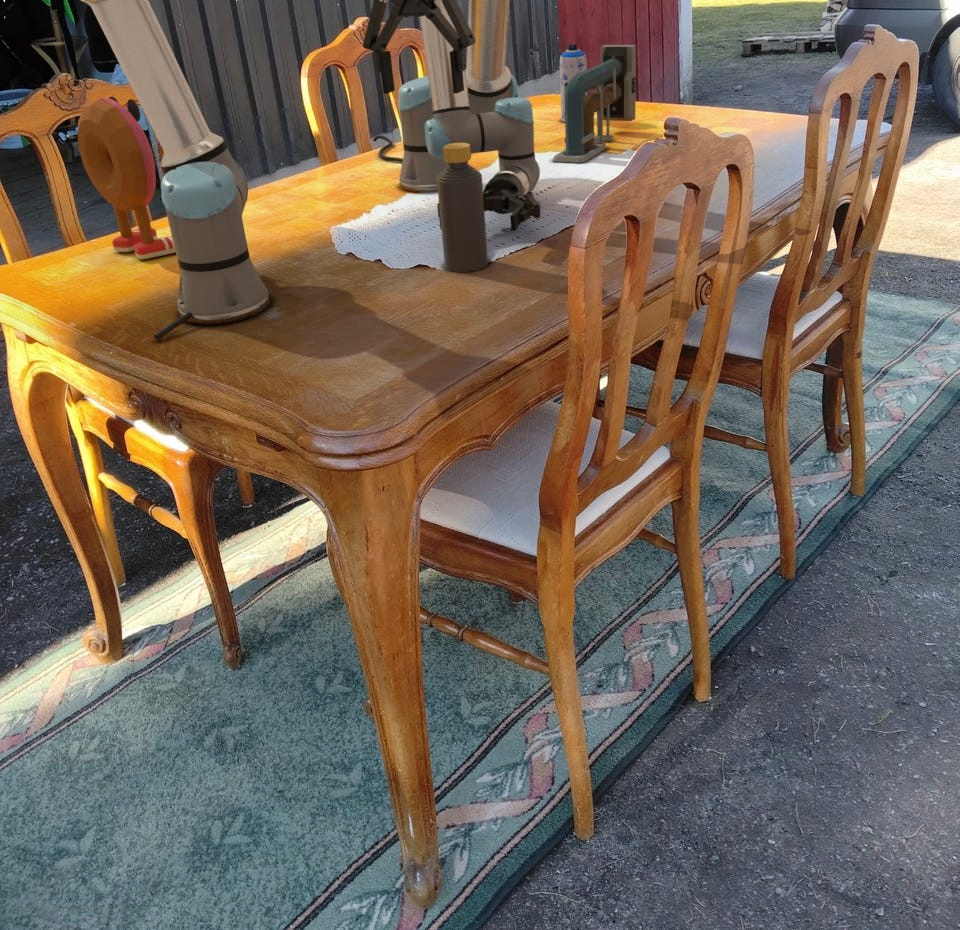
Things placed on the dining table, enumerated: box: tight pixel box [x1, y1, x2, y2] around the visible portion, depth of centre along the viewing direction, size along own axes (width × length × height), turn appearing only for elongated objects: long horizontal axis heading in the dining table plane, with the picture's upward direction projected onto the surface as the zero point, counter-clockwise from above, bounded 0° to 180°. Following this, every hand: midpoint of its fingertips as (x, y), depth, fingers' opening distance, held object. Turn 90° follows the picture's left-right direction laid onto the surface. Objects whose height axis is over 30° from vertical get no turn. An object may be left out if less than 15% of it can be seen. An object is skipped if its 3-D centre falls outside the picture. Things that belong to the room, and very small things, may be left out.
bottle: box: [437, 161, 489, 273], centre depth 171 cm, size 8×8×21 cm
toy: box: [77, 96, 176, 260], centre depth 191 cm, size 21×10×30 cm, turn 47°
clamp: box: [552, 44, 637, 164], centre depth 243 cm, size 35×9×21 cm, turn 151°
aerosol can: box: [559, 43, 588, 123], centre depth 273 cm, size 8×8×20 cm
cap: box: [443, 143, 472, 163], centre depth 166 cm, size 5×5×2 cm
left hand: (423, 92), depth 166 cm, fingers open, 13 cm apart
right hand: (476, 222), depth 177 cm, fingers open, 13 cm apart
